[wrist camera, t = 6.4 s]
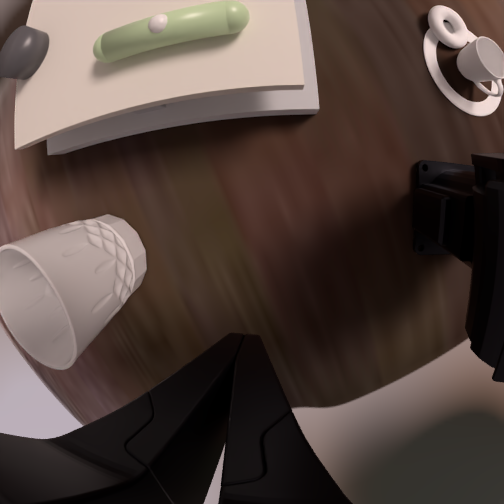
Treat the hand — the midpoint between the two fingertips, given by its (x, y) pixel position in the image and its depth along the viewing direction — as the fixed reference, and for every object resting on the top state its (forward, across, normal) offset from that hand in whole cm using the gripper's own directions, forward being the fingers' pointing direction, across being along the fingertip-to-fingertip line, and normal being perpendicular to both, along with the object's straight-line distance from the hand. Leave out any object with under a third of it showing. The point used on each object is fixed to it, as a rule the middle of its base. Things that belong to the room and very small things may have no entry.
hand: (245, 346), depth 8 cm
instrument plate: (+7, +8, -14) cm, 18 cm away
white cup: (+12, +13, +2) cm, 18 cm away
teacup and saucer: (+13, -16, -16) cm, 27 cm away
